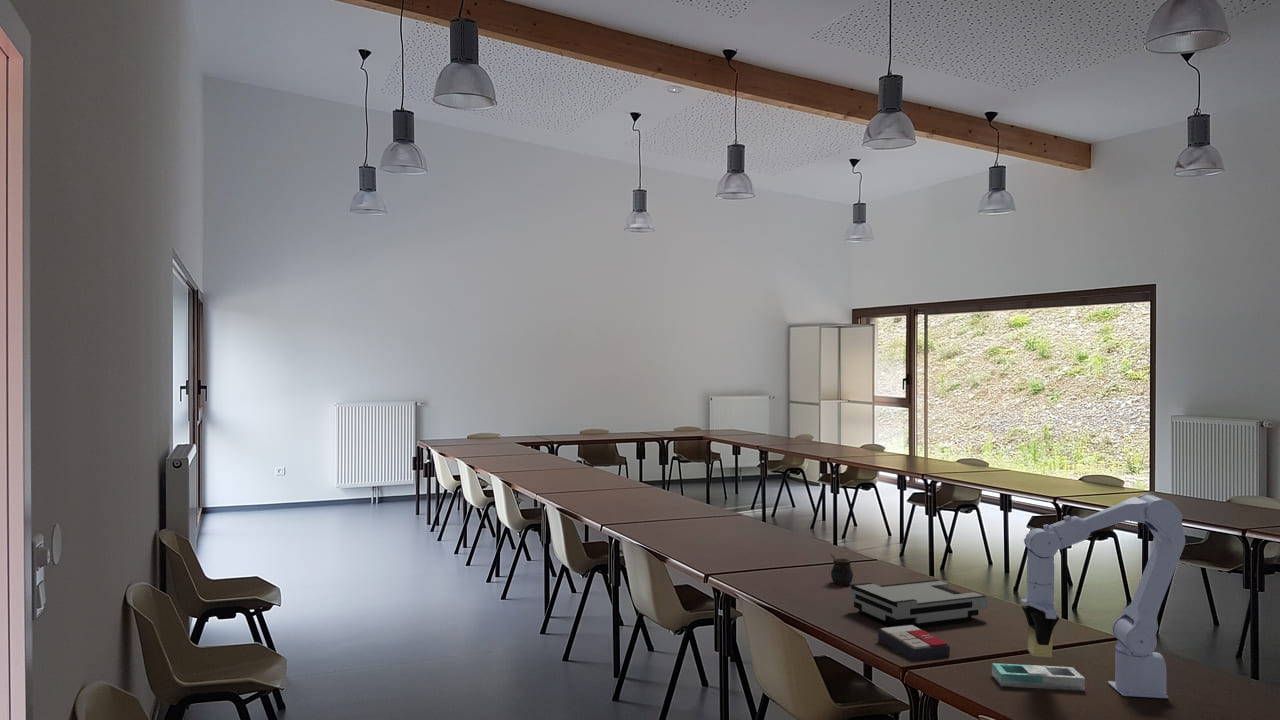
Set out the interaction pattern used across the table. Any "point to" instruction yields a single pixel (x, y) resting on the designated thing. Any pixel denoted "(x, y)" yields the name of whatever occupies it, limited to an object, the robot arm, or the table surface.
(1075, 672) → the white teal tray block
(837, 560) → the mate gourd
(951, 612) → the game console
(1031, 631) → the nut
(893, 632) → the calculator
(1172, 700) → the table surface
